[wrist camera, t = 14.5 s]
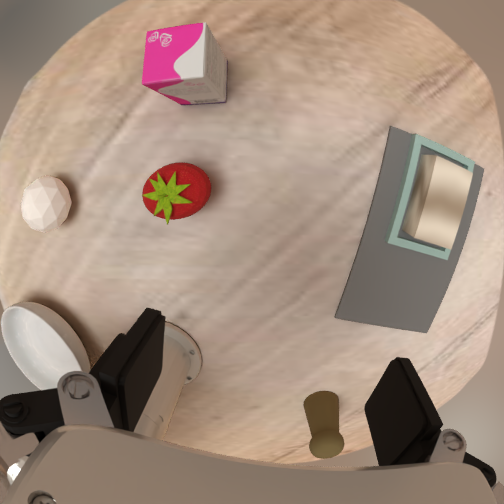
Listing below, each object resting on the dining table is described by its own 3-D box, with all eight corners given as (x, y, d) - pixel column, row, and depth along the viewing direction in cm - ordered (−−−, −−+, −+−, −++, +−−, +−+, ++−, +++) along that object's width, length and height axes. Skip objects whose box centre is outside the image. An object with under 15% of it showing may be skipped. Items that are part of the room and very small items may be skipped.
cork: (308, 389, 44) (314, 442, 34) (343, 392, 44) (354, 442, 33) (299, 412, 46) (302, 462, 35) (332, 414, 46) (340, 463, 35)
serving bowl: (10, 282, 43) (-12, 297, 36) (89, 298, 42) (65, 319, 35) (38, 367, 50) (22, 385, 43) (113, 392, 48) (99, 415, 42)
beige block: (421, 154, 31) (436, 155, 27) (456, 170, 31) (472, 173, 28) (401, 229, 34) (414, 237, 31) (436, 240, 34) (451, 249, 31)
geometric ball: (66, 184, 39) (38, 156, 31) (89, 210, 37) (59, 181, 29) (36, 220, 37) (4, 197, 30) (56, 251, 35) (21, 229, 28)
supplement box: (228, 58, 30) (208, 20, 19) (226, 103, 32) (205, 80, 21) (181, 62, 30) (145, 30, 19) (179, 105, 32) (140, 88, 21)
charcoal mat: (425, 331, 39) (426, 333, 39) (334, 316, 39) (334, 318, 39) (482, 168, 31) (484, 168, 31) (390, 126, 31) (391, 126, 31)
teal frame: (443, 257, 35) (447, 260, 34) (384, 240, 35) (387, 243, 34) (470, 161, 31) (474, 161, 29) (412, 134, 31) (416, 133, 29)
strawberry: (225, 202, 36) (207, 220, 26) (167, 215, 37) (133, 236, 27) (214, 154, 34) (192, 155, 24) (156, 169, 35) (118, 177, 25)
